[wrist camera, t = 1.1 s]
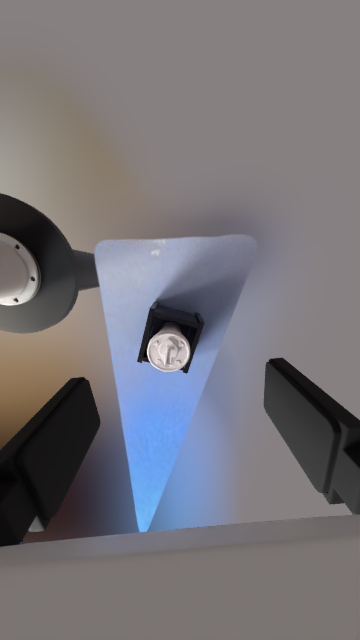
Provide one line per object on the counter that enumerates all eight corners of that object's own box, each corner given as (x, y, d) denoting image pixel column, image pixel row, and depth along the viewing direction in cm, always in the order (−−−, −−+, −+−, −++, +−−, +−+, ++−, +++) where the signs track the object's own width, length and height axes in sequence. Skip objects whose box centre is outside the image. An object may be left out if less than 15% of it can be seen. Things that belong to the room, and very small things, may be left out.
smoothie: (187, 315, 33) (195, 346, 19) (185, 345, 35) (192, 392, 21) (154, 314, 33) (139, 344, 19) (154, 344, 34) (140, 391, 21)
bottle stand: (143, 346, 34) (137, 361, 29) (154, 301, 32) (149, 308, 26) (185, 357, 35) (187, 373, 30) (199, 313, 33) (204, 322, 27)
